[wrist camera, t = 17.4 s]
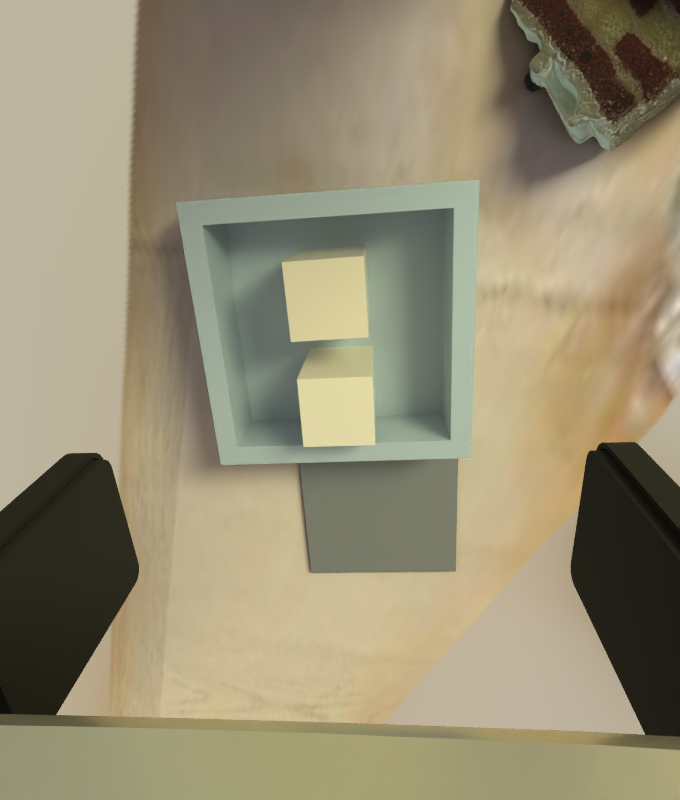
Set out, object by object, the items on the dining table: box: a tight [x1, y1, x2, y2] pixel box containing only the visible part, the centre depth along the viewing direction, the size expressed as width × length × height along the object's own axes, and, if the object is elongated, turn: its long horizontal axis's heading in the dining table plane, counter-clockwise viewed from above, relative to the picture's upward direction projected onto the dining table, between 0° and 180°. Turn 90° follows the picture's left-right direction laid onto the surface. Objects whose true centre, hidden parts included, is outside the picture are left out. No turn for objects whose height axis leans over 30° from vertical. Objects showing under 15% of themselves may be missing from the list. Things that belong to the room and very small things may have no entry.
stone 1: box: [282, 245, 370, 342], centre depth 28 cm, size 4×4×6 cm
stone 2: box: [297, 346, 375, 447], centre depth 30 cm, size 4×4×6 cm
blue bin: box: [176, 180, 479, 465], centre depth 30 cm, size 15×15×4 cm
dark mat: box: [299, 458, 458, 573], centre depth 37 cm, size 11×11×1 cm
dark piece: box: [510, 0, 680, 150], centre depth 25 cm, size 10×7×12 cm
